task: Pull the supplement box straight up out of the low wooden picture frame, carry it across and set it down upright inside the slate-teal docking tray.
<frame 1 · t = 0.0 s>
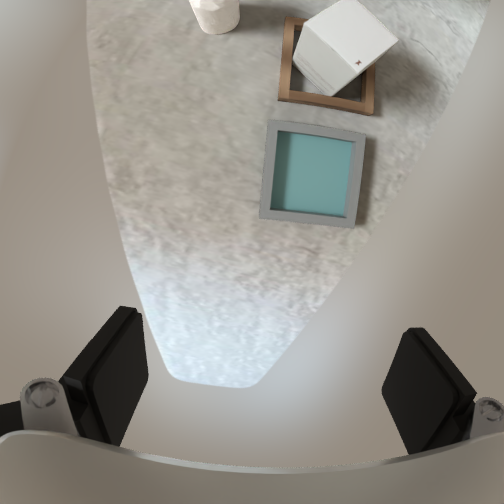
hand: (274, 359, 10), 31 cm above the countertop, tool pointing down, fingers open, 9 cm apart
white rounded piece: (220, 20, 32), on the countertop
wooden picture frame: (327, 65, 33), on the countertop
supplement box: (326, 66, 34), resting in wooden picture frame
dock: (310, 173, 38), on the countertop
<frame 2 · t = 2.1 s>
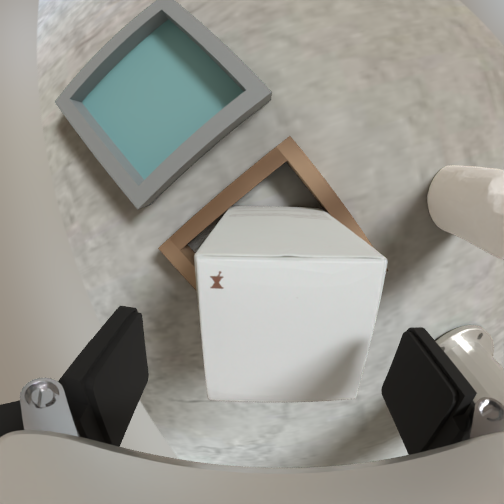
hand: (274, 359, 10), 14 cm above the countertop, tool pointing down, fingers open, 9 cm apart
white rounded piece: (448, 198, 22), on the countertop
wooden picture frame: (275, 252, 23), on the countertop
supplement box: (275, 251, 24), resting in wooden picture frame
dock: (158, 96, 20), on the countertop
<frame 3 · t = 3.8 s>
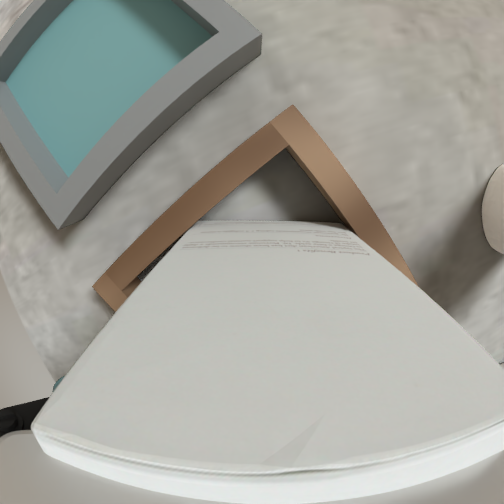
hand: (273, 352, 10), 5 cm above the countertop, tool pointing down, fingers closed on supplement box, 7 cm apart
white rounded piece: (503, 207, 14), on the countertop
wooden picture frame: (268, 289, 15), on the countertop
supplement box: (269, 288, 15), resting in wooden picture frame, touching gripper
dock: (95, 61, 12), on the countertop
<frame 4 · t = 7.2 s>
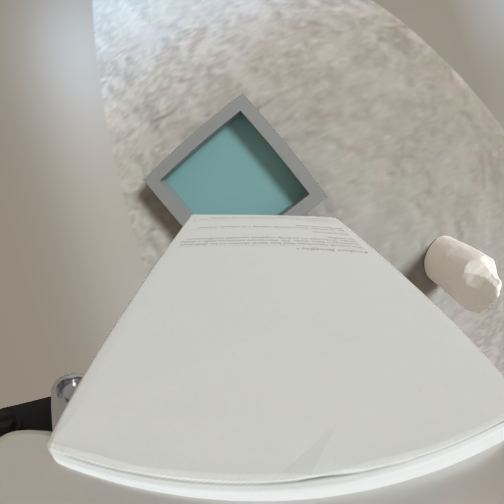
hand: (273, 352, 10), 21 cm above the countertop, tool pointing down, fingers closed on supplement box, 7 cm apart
white rounded piece: (439, 258, 31), on the countertop
supplement box: (263, 282, 16), point 16 cm above the countertop, touching gripper
dock: (235, 184, 29), on the countertop
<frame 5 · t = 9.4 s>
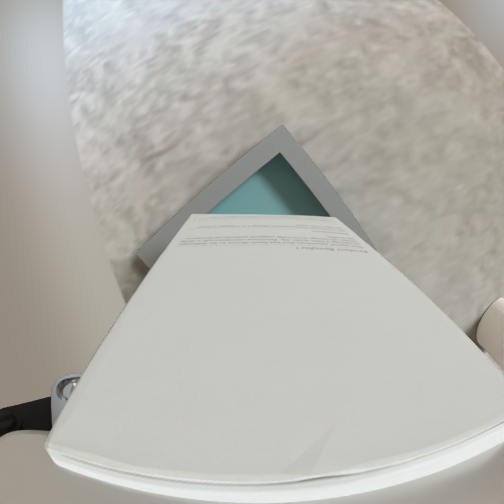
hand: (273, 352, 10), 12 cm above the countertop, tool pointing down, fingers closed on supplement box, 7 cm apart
white rounded piece: (491, 321, 23), on the countertop
supplement box: (263, 281, 16), point 6 cm above the countertop, touching gripper
dock: (267, 254, 21), on the countertop
when the fingers open (7 cm above the countertop, at t = 11.0 s): supplement box stays where it is, resting on dock.
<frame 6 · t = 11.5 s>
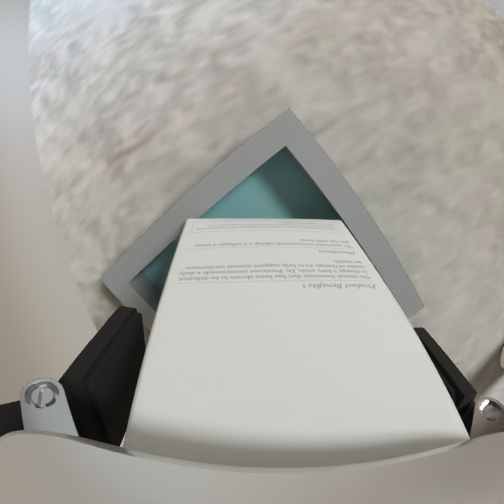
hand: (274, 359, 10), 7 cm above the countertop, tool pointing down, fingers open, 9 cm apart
supplement box: (263, 280, 15), point 1 cm above the countertop, touching dock
dock: (267, 278, 17), on the countertop
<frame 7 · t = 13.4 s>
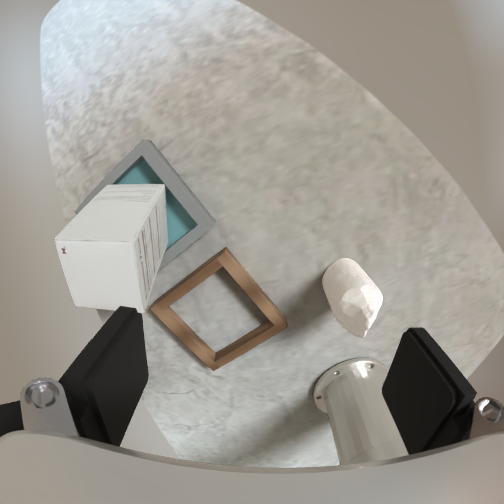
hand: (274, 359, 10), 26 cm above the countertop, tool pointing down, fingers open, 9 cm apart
white rounded piece: (340, 278, 37), on the countertop
wooden picture frame: (219, 311, 38), on the countertop
supplement box: (138, 212, 33), point 1 cm above the countertop, touching dock
dock: (144, 213, 34), on the countertop
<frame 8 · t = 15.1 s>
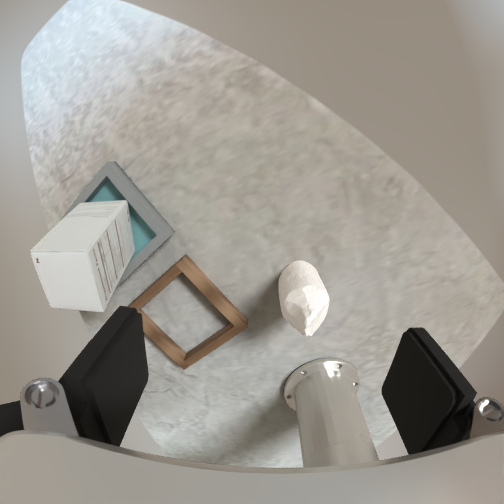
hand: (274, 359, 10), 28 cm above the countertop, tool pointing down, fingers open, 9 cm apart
white rounded piece: (297, 280, 40), on the countertop
wooden picture frame: (185, 313, 41), on the countertop
supplement box: (108, 225, 36), point 1 cm above the countertop, touching dock
dock: (114, 226, 37), on the countertop
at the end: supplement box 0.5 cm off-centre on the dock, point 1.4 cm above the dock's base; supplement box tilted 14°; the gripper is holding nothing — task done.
